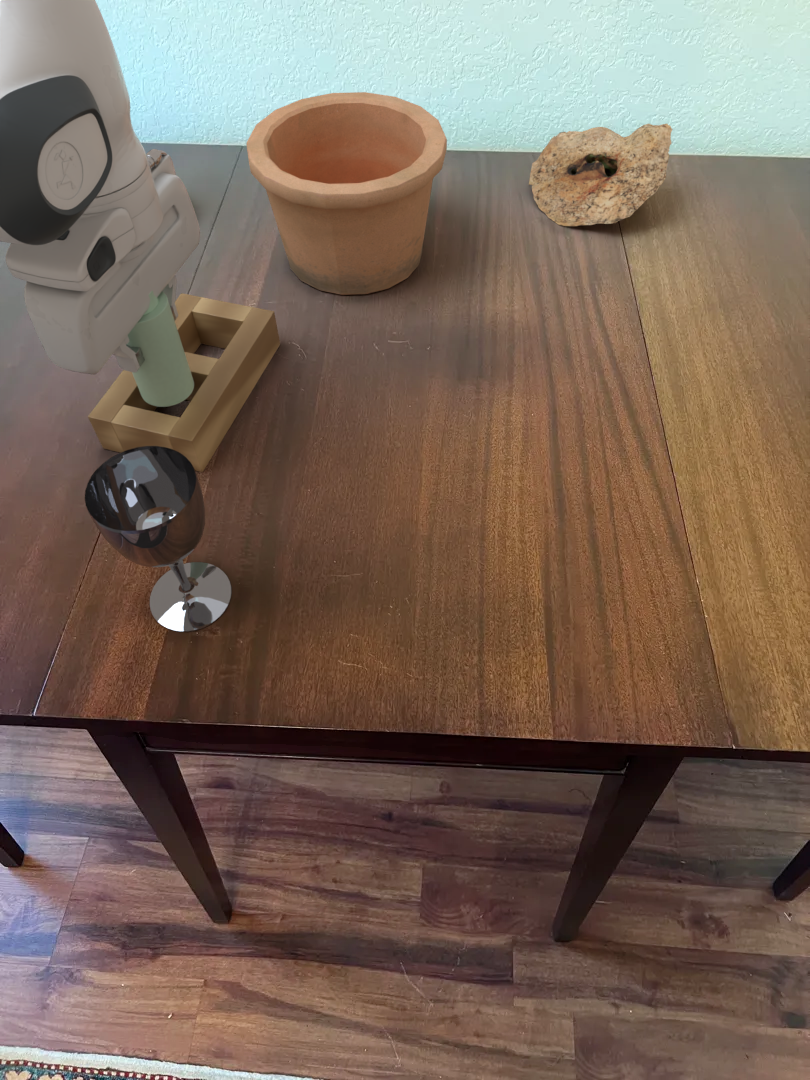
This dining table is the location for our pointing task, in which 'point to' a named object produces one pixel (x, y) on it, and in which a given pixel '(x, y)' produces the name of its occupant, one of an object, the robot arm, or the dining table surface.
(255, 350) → the hollow wooden block
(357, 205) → the pottery
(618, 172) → the rough tan rock
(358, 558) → the dining table surface
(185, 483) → the wine glass
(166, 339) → the bottle
